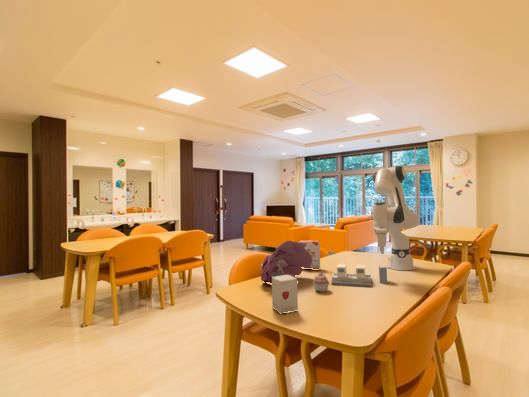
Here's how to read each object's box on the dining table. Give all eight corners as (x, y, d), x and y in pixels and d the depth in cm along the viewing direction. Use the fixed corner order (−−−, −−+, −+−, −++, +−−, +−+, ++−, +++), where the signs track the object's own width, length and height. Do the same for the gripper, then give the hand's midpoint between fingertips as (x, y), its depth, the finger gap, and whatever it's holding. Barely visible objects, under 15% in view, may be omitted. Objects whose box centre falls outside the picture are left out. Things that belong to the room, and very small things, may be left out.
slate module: (379, 280, 174) (378, 265, 174) (386, 280, 172) (385, 265, 172) (379, 283, 168) (379, 267, 168) (387, 283, 167) (386, 267, 167)
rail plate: (334, 276, 186) (334, 262, 186) (370, 278, 179) (369, 263, 179) (331, 284, 168) (330, 269, 168) (371, 287, 161) (370, 270, 161)
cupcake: (311, 292, 155) (310, 274, 155) (314, 287, 164) (313, 270, 164) (328, 294, 152) (328, 275, 152) (331, 288, 160) (330, 271, 161)
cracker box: (299, 269, 208) (298, 241, 208) (301, 268, 213) (300, 240, 214) (319, 271, 202) (317, 241, 203) (320, 269, 208) (319, 240, 208)
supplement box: (280, 315, 125) (279, 281, 126) (272, 308, 134) (271, 276, 134) (298, 311, 129) (297, 278, 129) (289, 305, 137) (288, 274, 138)
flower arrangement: (282, 301, 158) (287, 252, 153) (249, 286, 171) (252, 241, 166) (310, 279, 186) (315, 238, 181) (280, 268, 199) (283, 230, 194)
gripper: (374, 228, 182) (375, 249, 181) (375, 230, 162) (376, 255, 162) (385, 227, 179) (386, 250, 179) (387, 230, 160) (388, 255, 160)
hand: (381, 252), depth 170 cm, fingers open, 8 cm apart
